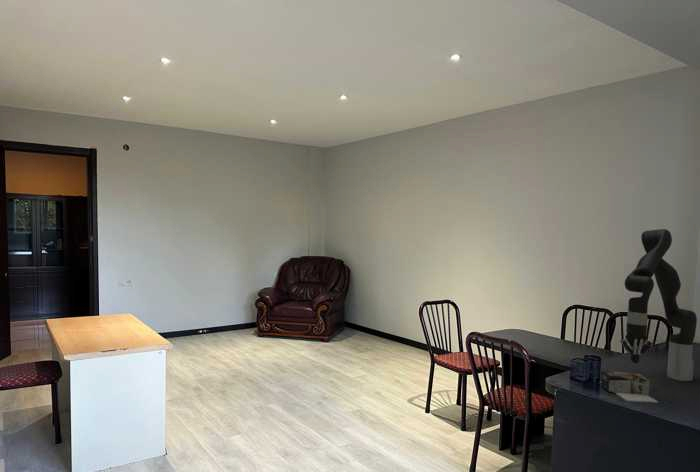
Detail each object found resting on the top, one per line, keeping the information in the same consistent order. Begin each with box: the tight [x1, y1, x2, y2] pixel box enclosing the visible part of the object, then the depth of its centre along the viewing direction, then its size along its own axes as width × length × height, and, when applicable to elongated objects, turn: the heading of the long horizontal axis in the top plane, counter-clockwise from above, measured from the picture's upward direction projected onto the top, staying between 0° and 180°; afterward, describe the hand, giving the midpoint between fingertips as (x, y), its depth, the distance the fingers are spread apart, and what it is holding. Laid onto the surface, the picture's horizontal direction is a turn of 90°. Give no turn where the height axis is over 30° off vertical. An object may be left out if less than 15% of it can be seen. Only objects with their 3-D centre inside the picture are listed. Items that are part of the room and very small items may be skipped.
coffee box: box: [600, 370, 651, 396], centre depth 207 cm, size 9×6×16 cm
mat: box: [599, 381, 659, 404], centre depth 206 cm, size 12×22×1 cm, turn 0°
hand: (634, 362), depth 206 cm, fingers closed
